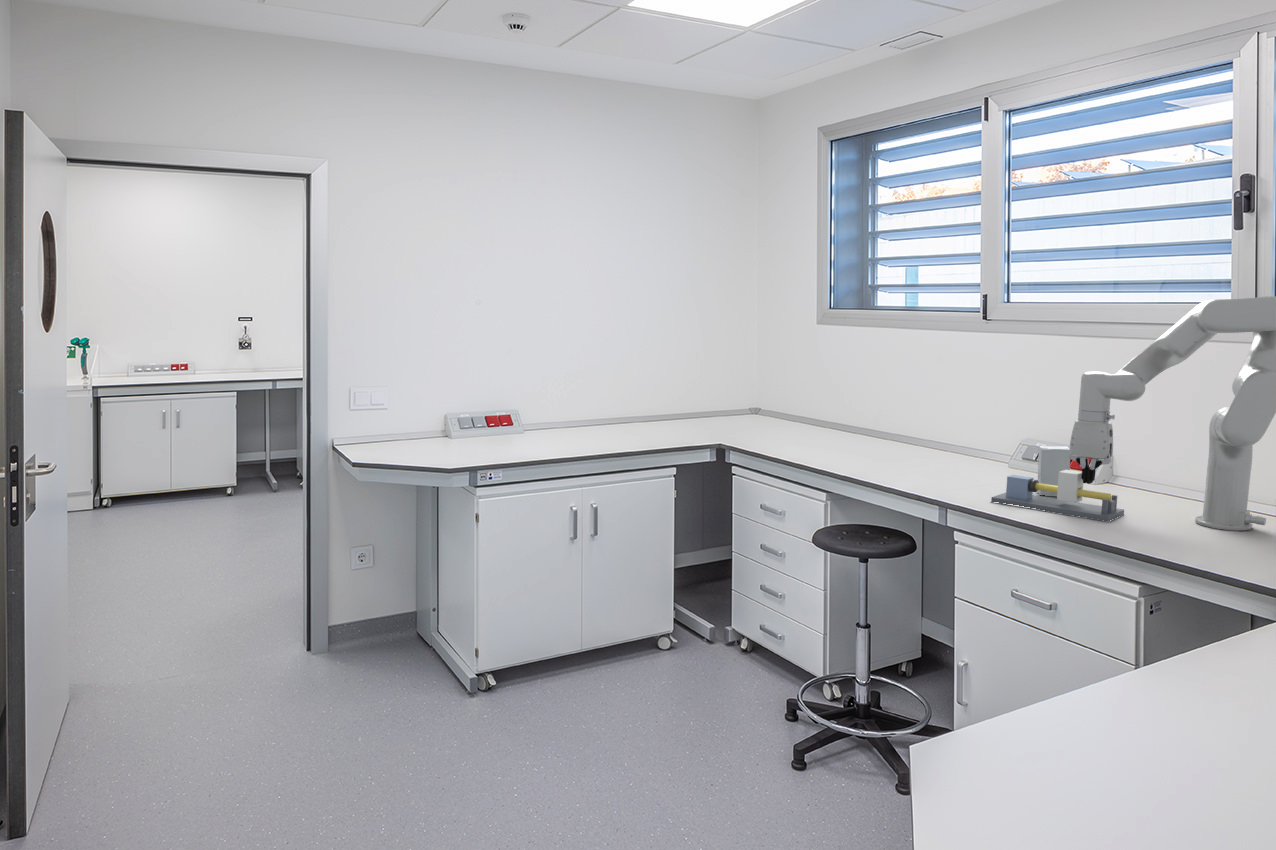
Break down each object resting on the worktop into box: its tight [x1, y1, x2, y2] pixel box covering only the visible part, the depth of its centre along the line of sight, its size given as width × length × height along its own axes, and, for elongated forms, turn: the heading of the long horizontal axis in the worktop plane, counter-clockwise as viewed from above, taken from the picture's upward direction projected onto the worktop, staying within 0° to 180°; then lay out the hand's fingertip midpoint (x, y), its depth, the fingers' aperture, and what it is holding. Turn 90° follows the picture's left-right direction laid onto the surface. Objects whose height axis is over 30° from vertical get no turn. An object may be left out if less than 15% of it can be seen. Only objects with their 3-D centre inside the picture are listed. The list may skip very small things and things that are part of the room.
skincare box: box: [1036, 445, 1071, 497], centre depth 270 cm, size 8×6×15 cm
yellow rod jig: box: [990, 474, 1125, 522], centre depth 252 cm, size 32×12×8 cm, turn 44°
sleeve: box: [1056, 469, 1084, 503], centre depth 249 cm, size 5×5×8 cm
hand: (1087, 482), depth 246 cm, fingers closed
